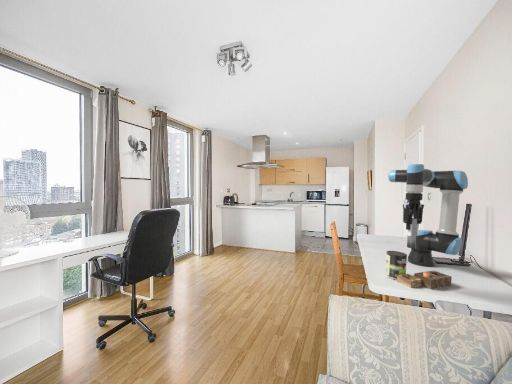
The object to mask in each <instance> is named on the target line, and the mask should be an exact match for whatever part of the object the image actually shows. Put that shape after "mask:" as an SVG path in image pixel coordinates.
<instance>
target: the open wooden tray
mask: <svg viewBox="0 0 512 384" xmlns="http://www.w3.org/2000/svg"><path fill="white" fill-rule="evenodd" d="M396 282H398V283H400V284H402V285H404V286H406V287H408V288H417V287H422V279H420V278H417V277H415V276H414V275H412V274H409V273H406V274H402V275H397V280H396Z"/></svg>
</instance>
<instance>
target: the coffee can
mask: <svg viewBox="0 0 512 384" xmlns="http://www.w3.org/2000/svg"><path fill="white" fill-rule="evenodd" d="M385 260H386V265H385V276H386V277H387V278H389V279H393V280H395V281H397V275H402V274H407V262H408V254H406V253H405V252H401V251H396V250H387V251H386V259H385Z"/></svg>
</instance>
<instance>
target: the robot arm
mask: <svg viewBox="0 0 512 384" xmlns="http://www.w3.org/2000/svg"><path fill="white" fill-rule="evenodd" d="M387 178H388V181H389V182H390V183H403V184H404V183H406V184H405V185H406V187H405V191H406V193H405V200H407V201H406V203H403V204H402V209H403V212H402V214H403V215H402V217H403V218H402V222H403V223H404V224H405V236H406V237H407V236H412V224H411V222H412V218H416V219H417V233H416V248H415V249H413V248H410V252H409V254H408V255H407V262H409V263H411V264H413V265H417V266H421V267H434V266H435V261H434V257H433V254H432V251H433V252H437V253H440V254H445V255H451V256H457V255H458V254H459V253H460V251H461V250H462V246H463V238H461V237H460V234H459V233H458V232H457V225H458V214H459V206H460V205H459V203H460V195H461V194H462V193H463V192H464V190H466V189H468V186H469V181H468V175H467V174H466V172H465V171H463V170H436V171H433V170H430V169H428V168H425V165H424V163H423V164H422V163H412V164H410V163H409V164H408V165H407V167H406V169H392V170H390V171H389V172H388V177H387ZM424 187H426V188H432V189H439V192H440V193H442V194H441V204H440V205H441V206H440V213H439V214H440V215H439V223H438V224H439V225H438V229H437V230H436V231H435V232H433V230H428V229H419V226H420V225H421V224H422V223H423V213H424V207H425V205H424V204H422V203H421V201H422V200H423V195H424V194H423V192H424Z"/></svg>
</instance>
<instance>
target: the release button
mask: <svg viewBox="0 0 512 384" xmlns="http://www.w3.org/2000/svg"><path fill="white" fill-rule="evenodd" d="M422 272H423V276H424V277H427V278H430V273H427V271H422Z"/></svg>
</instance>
